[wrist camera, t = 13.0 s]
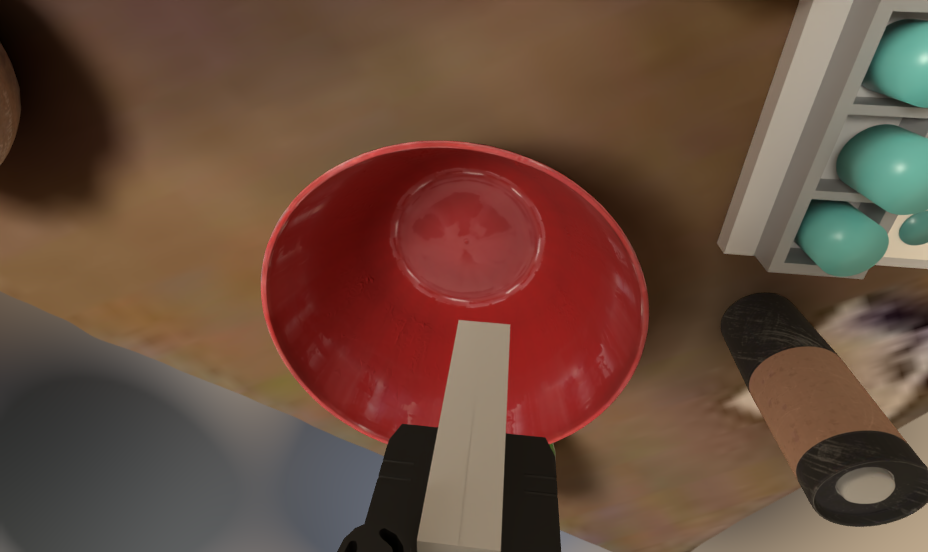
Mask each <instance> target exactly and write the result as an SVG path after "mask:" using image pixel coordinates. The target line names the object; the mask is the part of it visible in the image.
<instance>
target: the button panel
mask: <svg viewBox="0 0 928 552" xmlns="http://www.w3.org/2000/svg"><path fill="white" fill-rule="evenodd" d="M903 19H918V20H926V21H928V0H800V1H799V4H798V7H797V10H796V13H795V16H794V19H793V21H792V24H791V27H790V30H789V33H788V36H787V39H786V42H785V45H784V48H783V51H782V54H781V57H780V60H779V62H778V65H777V68H776V71H775V74H774V77H773V80H772V83H771V86H770V89H769V92H768V95H767V98H766V101H765V104H764V106H763V109H762V112H761V115H760V118H759V121H758V124H757V127H756V130H755V133H754V136H753V139H752V142H751V145H750V147H749V150H748V153H747V156H746V159H745V162H744V165H743V168H742V171H741V174H740V177H739V180H738V183H737V186H736V189H735V191H734V194H733V197H732V200H731V203H730V206H729V209H728V212H727V215H726V218H725V221H724V224H723V227H722V230H721V232H720V235H719V238H718V241H717V244H718V246H719V247H720V249H721V250H722V252H723V253H724V254H736V255H749V256H755V257H756V258H757V259H758V261H759V262H760V263H761V264H762V266H763V267H764V268H765V269H766V271H767V272H775V273H788V274H801V275H814V276H827V277H838V276H833V275H830V274H827V273H826V272H824V271H823V270H822V269H821V268H820V267H819V266H818V265H817V264H816V263H815V262H814V261H813V260H812V259H811V258H810V257H809V256H808V255H807V254H806V253H805V252H804V251H803V250H802V249H801V248H800V247H799V246H798V245H797V244H796V243H795V242H794V239H795V236H796V234H797V232H798V229H799V227H800V225H801V222H802V220H803V218H804V215H805V213H806V211H807V209H808V206H809V204H810V202H811V200H812V199H819V200H834V201H847V202H848V203H850V204H851V205H852V206H854V207H855V208H857V209H858V210H859V211H861V212H862V213H864V214H865V215H866V216H868V217H869V218H870V219H872V220H873V221H875V222H876V223H877V224H879V225H880V226H882V227H883V228H884V229H885V230H886V232H887V234H888V237H889V244H888V248H887V250H886V253H885V254H884V256H883V257H882V258H881V259H880V260H879V261H878V262H877V263H876V264H875V265H882V266H895V267H909V268H922V269H928V210H925V211H923V212H919V213H916V214H911V215H896V214H892V213H889V212H887V211H886V210H884V209H882V208H881V207H879V206H878V205H876V204H875V203H873V202H872V201H870V200H869V199H867V198H866V197H864V196H863V195H862V194H860V193H859V192H857V191H856V190H854V189H853V188H851V187H850V186H848V185H847V184H845V183H844V182H842V181H841V179H840V178H839V176H838V174H837V171H836V163H837V159H838V156H839V154H840V152H841V150H842V148H843V147H844V146H845V144H846V143H847V142H848V141H849V140H850V139H851V138H853V137H854V136H855V135H856V134H858V133H859V132H861V131H863V130H865V129H867V128H869V127H872V126H876V125H881V124H892V125H896V126H899V127H901V128H904V129H906V130H909V131H911V132H913V133H916V134H918V135H921V136H923V137H925V138H928V108H922V107H917V106H914V105H911V104H908V103H905V102H903V101H900V100H897V99H894V98H891V97H888V96H885V95H883V94H880V93H877V92H874V91H871V90H869V89H867V88H865V87H864V86H863V85H862V81H863V79H864V77H865V75H866V72H867V70H868V68H869V65H870V63H871V61H872V58H873V56H874V54H875V51H876V49H877V47H878V45H879V42H880V40H881V38H882V35H883V33H884V31H885V28H886V26H887V25H889V24H891V23H893V22H895V21H899V20H903ZM868 270H869V269H868ZM868 270H866V271H864V272H862V273H859V274H856V275H852V276H846V277H840V278H852V279H864V277H865V275H866V273H867V272H868Z"/></svg>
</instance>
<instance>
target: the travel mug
mask: <svg viewBox="0 0 928 552" xmlns="http://www.w3.org/2000/svg"><path fill="white" fill-rule="evenodd" d="M721 332H722V335H723V337H724V339H725V342H726V344H727V346H728V348H729V350H730V352H731V354H732V356H733V359H734V361H735V363H736V365H737V367H738V369H739V371H740V373H741V375H742V377H743V379H744V381H745V383H746V386H747V388H748V390H749V392H750V393H751V396H752V398H753V399H754V401H755V403H756V405H757V407H758V409H759V410H760V412H761V414H762V416H763V418H764V420H765V421H766V423H767V425H768V427H769V429H770V431H771V432H772V434H773V436H774V438H775V440H776V441H777V443H778V445H779V447H780V449H781V451H782V452H783V454H784V456H785V458H786V460H787V462H788V463H789V465H790V467H791V469H792V471H793V473H794V474H795V476H796V478H797V480H798V482H799V483H800V485H801V487H802V489H803V491H804V493H805V494H806V496H807V498H808V500H809V502H810V504H811V505H812V507H813V508H814V510H815V511H816V512H817V513H818V514H819V515H820V516H821V517H823V518H824V519H826V520H828V521H830V522H833V523H837V524H840V525H845V526H855V527H864V526H875V525H881V524H886V523H890V522H893V521H897V520H900V519H902V518H905V517H907V516H909V515H911V514H913V513H915V512H916V511H917V510H919V509H920V508H922V507H923V506H924V505H925V504H926V503H928V468H927V466H926V465H925V464H924V463H923V462H922V461H921V460H920V458H919V457H918V456H917V455H916V453H915V452H914V451H913V449H912V448H911V447H910V446H909V444H908V443H907V442H906V441H905V439H904V438H903V437H902V436H901V434H900V433H899V432H898V431H897V429H896V428H895V427H894V425H893V424H892V423H891V422H890V420H889V419H888V418H887V417H886V415H885V414H884V413H883V412H882V410H881V409H880V408H879V406H878V405H877V404H876V403H875V401H874V400H873V399H872V398H871V396H870V395H869V394H868V393H867V391H866V390H865V389H864V388H863V386H862V385H861V384H860V382H859V381H858V380H857V379H856V377H855V376H854V375H853V374H852V372H851V371H850V370H849V369H848V367H847V366H846V365H845V363H844V362H843V361H842V360H841V358H840V357H839V356H838V355H837V354H836V353H835V351H834V350H833V349H832V348H831V347H830V346H829V345H828V344H827V342H826V341H825V340H824V339H823V338H822V337H821V336H820V334H819V333H818V332H817V331H816V330H815V329H814V328H813V326H812V325H811V324H810V323H809V322H808V321H807V320H806V319H805V317H804V316H803V315H802V314H801V313H800V312H799V311H798V309H797V308H796V307H795V306H794V305H793V304H792V303H791V302H790V301H789V300H788V299H786V298H784V297H782V296H780V295H777V294H773V293H758V294H753V295H749V296H746V297H744V298H742V299H740V300H738V301H737V302H735V303H734V304H733V305H731V306H730V307H729V308H728V309H727V311H726V312H725V313H724V315H723V317H722V320H721Z"/></svg>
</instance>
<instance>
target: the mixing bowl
mask: <svg viewBox="0 0 928 552" xmlns="http://www.w3.org/2000/svg"><path fill="white" fill-rule="evenodd" d="M261 298H262V306H263V312H264V316H265V320H266V324H267V327H268V330H269V333H270V335H271V338H272V340H273V343H274V345H275V347H276V349H277V351H278V353H279V355H280V356H281V358H282V360H283V362H284V363H285V365H286V366H287V368H288V369H289V371H290V372H291V374H292V375H293V376H294V378H295V379H296V380H297V381H298V383H299V384H300V385H301V386H302V387H303V388H304V389H305V390H306V391H307V392H308V394H309V395H310V396H311V397H312V398H313V399H314V400H316V401H317V402H318V403H319V404H320V405H321V406H322V407H324V408H325V409H326V410H327V411H329V412H330V413H331V414H332V415H334V416H335V417H336V418H338V419H339V420H341V421H342V422H344V423H345V424H347V425H349V426H351V427H352V428H354V429H355V430H357V431H359V432H361V433H363V434H365V435H367V436H369V437H371V438H373V439H376V440H378V441H380V442H383V443H385V444H388V441H389V439H390V438H391V437H392V435H393V434H394V433H395V432H396V431H397V429H398V428H399V427H400V426H401V424H410V425H420V426H429V427H438V426H439V421H440V416H441V411H442V405H443V400H444V395H445V390H446V384H447V379H448V374H449V369H450V363H451V358H452V353H453V348H454V342H455V337H456V332H457V327H458V321H459V320H465V321H476V322H487V323H499V324H510V343H509V367H508V390H507V414H506V433H507V434H517V435H526V436H536V437H545V438H546V439H547V441H548V443H549V444H552V443H554V442H557V441H559V440H561V439H563V438H565V437H567V436H569V435H571V434H573V433H574V432H576V431H578V430H580V429H581V428H583V427H584V426H586V425H587V424H589V423H590V422H591V421H593V420H594V419H595V418H596V417H598V416H599V415H600V414H601V413H602V412H603V411H605V410H606V409H607V408H608V407H609V406H610V405H611V404H612V403H613V402H614V401H615V400H616V398H617V397H618V396H619V395H620V393H621V392H622V391H623V389H624V388H625V386H626V385H627V383H628V382H629V380H630V379H631V377H632V376H633V374H634V372H635V370H636V368H637V366H638V364H639V361H640V358H641V356H642V353H643V349H644V346H645V342H646V338H647V332H648V324H649V301H648V292H647V287H646V282H645V278H644V275H643V272H642V268H641V266H640V263H639V261H638V258H637V256H636V253H635V251H634V249H633V248H632V246H631V244H630V242H629V240H628V238H627V237H626V235H625V234H624V232H623V230H622V229H621V228H620V226H619V225H618V224H617V222H616V221H615V220H614V219H613V217H612V216H611V215H610V214H609V213H608V212H607V210H606V209H605V208H604V207H603V206H602V205H601V204H600V203H599V202H598V201H597V200H596V199H595V198H594V197H592V196H591V195H590V194H589V193H588V192H587V191H585V190H584V189H583V188H582V187H580V186H579V185H578V184H576V183H575V182H573V181H572V180H571V179H569V178H568V177H566V176H564V175H563V174H561V173H559V172H558V171H556V170H554V169H552V168H550V167H548V166H546V165H544V164H542V163H540V162H538V161H535V160H533V159H530V158H527V157H525V156H522V155H520V154H517V153H514V152H510V151H507V150H503V149H500V148H497V147H493V146H488V145H484V144H476V143H468V142H459V141H417V142H409V143H401V144H397V145H392V146H386V147H383V148H379V149H376V150H372V151H369V152H366V153H363V154H361V155H358V156H356V157H354V158H351V159H349V160H347V161H345V162H343V163H341V164H339V165H337V166H336V167H334V168H332V169H330V170H329V171H327V172H326V173H324V174H323V175H321V176H320V177H318V178H317V179H315V180H314V181H313V182H312V183H311V184H310V185H308V186H307V187H306V188H305V189H304V190H302V191H301V192H300V194H299V195H298V196H297V197H296V198H295V199H294V200H293V201H292V202H291V204H290V205H289V206H288V207H287V209H286V210H285V212H284V213H283V215H282V216H281V217H280V219H279V221H278V223H277V225H276V226H275V228H274V230H273V232H272V235H271V237H270V240H269V242H268V245H267V248H266V251H265V255H264V260H263V265H262V273H261Z"/></svg>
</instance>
